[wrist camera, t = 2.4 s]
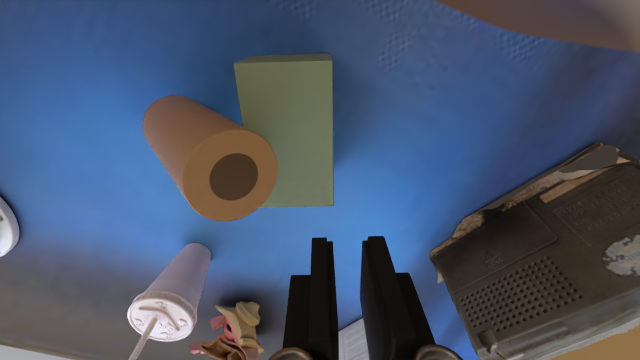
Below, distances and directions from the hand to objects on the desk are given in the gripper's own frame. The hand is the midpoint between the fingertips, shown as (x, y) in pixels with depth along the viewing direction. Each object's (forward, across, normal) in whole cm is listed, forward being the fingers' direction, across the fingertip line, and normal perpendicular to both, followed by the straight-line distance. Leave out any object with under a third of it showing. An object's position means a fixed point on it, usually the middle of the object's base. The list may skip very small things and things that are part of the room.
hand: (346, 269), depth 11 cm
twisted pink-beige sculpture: (+21, +13, +29) cm, 38 cm away
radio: (+21, -22, +13) cm, 33 cm away
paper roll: (+21, +10, 0) cm, 24 cm away
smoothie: (+21, +17, +17) cm, 32 cm away
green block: (+21, +3, 0) cm, 21 cm away
